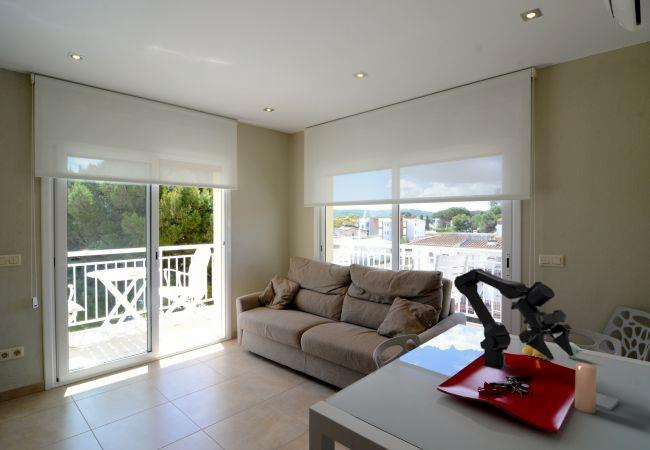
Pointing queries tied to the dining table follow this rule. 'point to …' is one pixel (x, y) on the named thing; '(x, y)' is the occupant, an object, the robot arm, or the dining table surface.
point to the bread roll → (532, 352)
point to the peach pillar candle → (585, 387)
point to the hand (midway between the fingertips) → (562, 357)
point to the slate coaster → (605, 402)
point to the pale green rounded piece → (574, 350)
